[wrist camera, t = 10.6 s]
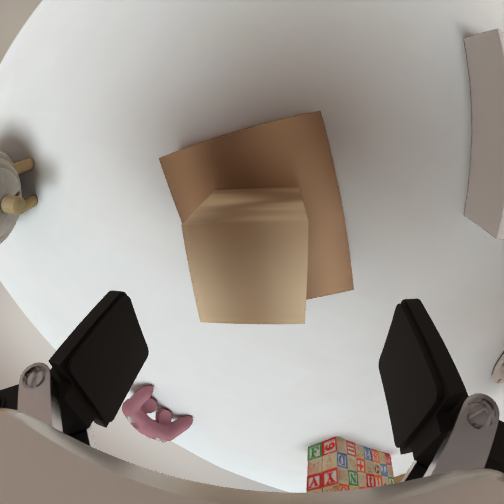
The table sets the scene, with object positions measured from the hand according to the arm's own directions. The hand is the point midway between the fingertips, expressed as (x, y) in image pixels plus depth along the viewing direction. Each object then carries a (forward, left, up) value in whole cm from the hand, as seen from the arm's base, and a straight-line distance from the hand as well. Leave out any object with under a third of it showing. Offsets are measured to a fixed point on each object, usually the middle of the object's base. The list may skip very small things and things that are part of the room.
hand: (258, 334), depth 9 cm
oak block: (+1, 0, -9) cm, 9 cm away
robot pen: (-23, -8, -13) cm, 28 cm away
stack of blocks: (-15, +46, -13) cm, 50 cm away
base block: (0, 0, -13) cm, 13 cm away
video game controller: (+17, +28, -13) cm, 35 cm away
